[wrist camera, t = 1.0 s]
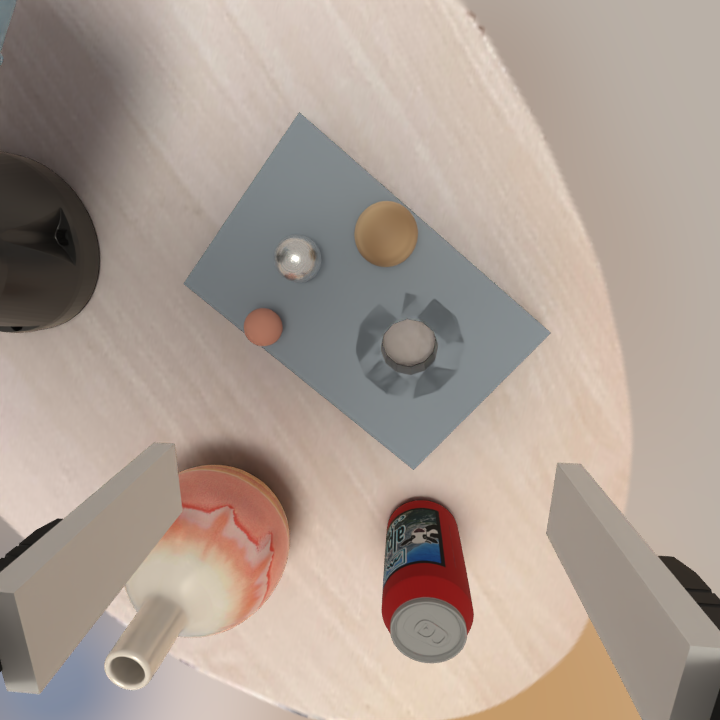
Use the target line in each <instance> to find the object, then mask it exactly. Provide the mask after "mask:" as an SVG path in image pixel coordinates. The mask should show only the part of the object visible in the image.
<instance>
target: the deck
mask: <svg viewBox="0 0 720 720" xmlns="http://www.w3.org/2000/svg"><path fill="white" fill-rule="evenodd" d="M381 201H392V202H396V203H399V204H401V205H403V206H404V207H405V208H407V209H408V210H409V211H410V212H411V214H412V215H413V217H414V219H415V221H416V224H417V228H418V239H417V243H416V246H415V249H414V250H413V252H412V254H411V255H410V256H409V257H408V258H407V259H406V260H405V261H403V262H402V263H400V264H398V265H395V266H391V267H380V266H376V265H373V264H371V263H370V262H368V261H367V260H366V259H365V258H363V256H362V255H361V254H360V252H359V251H358V249H357V246H356V243H355V237H354V232H355V226H356V223H357V220H358V218H359V217H360V215H361V214H362V212H363V211H364V210H365V209H366V208H368V207H369V206H371V205H372V204H375V203H377V202H381ZM290 235H303V236H306V237H308V238H310V239H311V240H313V241H314V242H315V244H316V245H317V246H318V248H319V250H320V253H321V266H320V269H319V271H318V272H317V274H316V275H315V276H314V277H313V278H312V279H310V280H308V281H306V282H302V283H295V282H291V281H288V280H287V279H285V278H284V277H282V276H281V275H280V274H279V272H278V271H277V269H276V266H275V263H274V253H275V249H276V247H277V245H278V244H279V243H280V242H281V241H282V240H283V239H284V238H286V237H288V236H290ZM184 285H186V286H187V287H188V288H189V289H191V290H192V291H193V292H194V293H196V294H197V295H198V296H199V297H201V298H202V299H203V300H204V301H205V302H207V303H208V304H209V305H210V306H212V307H213V308H214V309H215V310H217V311H218V312H219V313H220V314H222V315H223V316H224V317H225V318H226V319H228V320H229V321H230V322H231V323H233V324H234V325H235V326H236V327H238V328H239V329H240V330H241V331H243V332H244V322H245V319H246V317H247V316H248V314H249V313H251V312H252V311H254V310H256V309H259V308H267V309H270V310H272V311H274V312H275V313H276V314H277V315H278V316H279V317H280V319H281V321H282V326H283V330H282V334H281V336H280V338H279V339H278V340H277V341H276V342H275V343H273V344H271V345H268V346H261V347H262V348H264V349H265V350H266V351H267V352H268V353H270V354H271V355H272V356H273V357H275V358H276V359H277V360H278V361H280V362H281V363H282V364H283V365H285V366H286V367H287V368H288V369H289V370H291V371H292V372H293V373H294V374H296V375H297V376H298V377H299V378H301V379H302V380H303V381H304V382H306V383H307V384H308V385H309V386H311V387H312V388H313V389H314V390H315V391H317V392H318V393H319V394H320V395H322V396H323V397H324V398H325V399H327V400H328V401H329V402H330V403H332V404H333V405H334V406H335V407H336V408H338V409H339V410H340V411H341V412H343V413H344V414H345V415H346V416H348V417H349V418H350V419H351V420H353V421H354V422H355V423H356V424H357V425H359V426H360V427H361V428H362V429H364V430H365V431H366V432H367V433H369V434H370V435H371V436H372V437H374V438H375V439H376V440H377V441H378V442H380V443H381V444H382V445H383V446H385V447H386V448H387V449H388V450H390V451H391V452H392V453H393V454H395V455H396V456H397V457H398V458H399V459H401V460H402V461H403V462H404V463H406V464H407V465H408V466H409V467H411V468H412V469H413V470H414V469H415V468H416V467H417V466H418V465H419V464H420V463H421V462H422V461H423V460H424V459H425V458H426V457H427V456H428V455H429V454H430V453H431V452H432V451H433V450H434V449H435V448H436V447H437V446H438V445H439V444H440V443H441V442H442V441H443V440H444V439H445V438H446V437H447V436H448V435H449V434H450V433H451V432H452V431H453V430H454V429H455V428H456V427H457V426H458V425H459V424H460V423H461V422H462V421H463V420H464V419H465V418H466V417H467V416H468V415H469V414H470V413H471V412H472V411H473V410H474V409H475V408H476V407H477V406H478V405H479V404H480V403H481V402H482V401H483V400H484V399H485V398H486V397H487V396H488V395H489V394H490V393H491V392H492V391H493V390H494V389H495V388H496V387H497V386H498V385H499V384H500V383H501V382H502V381H503V380H504V379H505V378H506V377H507V376H508V375H509V374H510V373H511V372H512V371H513V370H514V369H515V368H516V367H517V366H518V365H519V364H520V363H521V362H522V361H523V360H524V359H525V358H526V357H527V356H528V355H529V354H530V353H531V352H532V351H533V350H534V349H535V348H536V347H537V346H538V345H539V344H540V343H541V342H542V341H543V340H544V339H545V338H546V337H547V336H548V335H549V334H550V332H549V331H548V330H547V329H546V328H545V327H544V326H542V325H541V324H540V323H539V322H538V321H537V320H536V319H534V318H533V317H532V316H531V315H530V314H529V313H528V312H526V311H525V310H524V309H523V308H522V307H521V306H520V305H518V304H517V303H516V302H515V301H514V300H513V299H512V298H510V297H509V296H508V295H507V294H506V293H505V292H504V291H502V290H501V289H500V288H499V287H498V286H497V285H496V284H494V283H493V282H492V281H491V280H490V279H489V278H488V277H487V276H485V275H484V274H483V273H482V272H481V271H480V270H479V269H477V268H476V267H475V266H474V265H473V264H472V263H471V262H469V261H468V260H467V259H466V258H465V257H464V256H463V255H461V254H460V253H459V252H458V251H457V250H456V249H455V248H453V247H452V246H451V245H450V244H449V243H448V242H447V241H445V240H444V239H443V238H442V237H441V236H440V235H439V234H437V233H436V232H435V231H434V230H433V229H432V228H431V227H429V226H428V225H427V224H426V223H425V222H424V221H423V220H421V219H420V218H419V217H418V216H417V215H416V214H415V213H414V212H412V211H411V210H410V209H409V208H408V207H407V206H406V205H404V204H403V203H402V202H401V201H400V200H399V199H398V198H396V197H395V196H394V195H393V194H392V193H391V192H390V191H388V190H387V189H386V188H385V187H384V186H383V185H382V184H380V183H379V182H378V181H377V180H376V179H375V178H374V177H372V176H371V175H370V174H369V173H368V172H367V171H366V170H364V169H363V168H362V167H361V166H360V165H359V164H358V163H356V162H355V161H354V160H353V159H352V158H351V157H350V156H348V155H347V154H346V153H345V152H344V151H343V150H342V149H341V148H339V147H338V146H337V145H336V144H335V143H334V142H333V141H331V140H330V139H329V138H328V137H327V136H326V135H325V134H323V133H322V132H321V131H320V130H319V129H318V128H317V127H315V126H314V125H313V124H312V123H311V122H310V121H309V120H307V119H306V118H305V117H304V116H303V115H302V114H301V113H299V114H298V115H297V116H296V118H295V119H294V121H293V122H292V124H291V125H290V127H289V128H288V130H287V131H286V133H285V134H284V136H283V137H282V139H281V140H280V142H279V143H278V145H277V146H276V148H275V149H274V150H273V152H272V153H271V155H270V156H269V158H268V159H267V161H266V162H265V164H264V165H263V167H262V168H261V170H260V171H259V173H258V174H257V176H256V177H255V179H254V180H253V182H252V183H251V185H250V186H249V187H248V189H247V190H246V192H245V193H244V195H243V196H242V198H241V199H240V201H239V202H238V204H237V205H236V207H235V208H234V210H233V211H232V213H231V214H230V216H229V217H228V219H227V220H226V222H225V223H224V224H223V226H222V227H221V229H220V230H219V232H218V233H217V235H216V236H215V238H214V239H213V241H212V242H211V244H210V245H209V247H208V248H207V250H206V251H205V253H204V254H203V256H202V257H201V259H200V260H199V261H198V263H197V264H196V266H195V267H194V269H193V270H192V272H191V273H190V275H189V276H188V278H187V279H186V281H185V282H184ZM406 319H410V320H415V321H421V322H423V323H424V324H425V325H427V326H428V327H429V328H430V329H431V330H433V331H434V334H435V337H436V342H435V347H434V352H433V353H432V354H431V355H430V357H429V358H428V359H427V360H426V361H425V362H424V363H421V364H418V365H415V366H412V367H409V366H403V365H398V364H396V363H395V362H394V361H393V360H391V359H390V358H389V357H388V356H387V355H386V352H385V349H384V347H383V344H382V341H383V336H384V334H385V333H386V331H387V330H388V329H389V328H390V327H391V326H392V325H393V324H394V323H397V322H400V321H403V320H406ZM244 333H245V332H244Z"/></svg>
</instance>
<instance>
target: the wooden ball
mask: <svg viewBox="0 0 720 720" xmlns="http://www.w3.org/2000/svg"><path fill="white" fill-rule="evenodd" d="M354 237H355V243H356V246H357V249H358V251H359V252H360V254H361V255H362V256H363V258H365V259H366V260H367V261H368V262H370V263H371V264H373V265H376V266H380V267H391V266H395V265H398V264H400V263H402V262H403V261H405V260H406V259H407V258H408V257H409V256H410V255H411V254H412V252H413V250H414V249H415V246H416V243H417V239H418V228H417V224H416V221H415V219H414V217H413V215H412V214H411V212H410V211H409V210H408V209H407V208H405V207H404V206H403V205H401V204H399V203H396V202H392V201H381V202H377V203H375V204H372V205H371V206H369V207H368V208H366V209H365V210H364V211H363V212H362V214H361V215H360V217H359V218H358V220H357V223H356V226H355V232H354Z"/></svg>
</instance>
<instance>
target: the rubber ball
mask: <svg viewBox="0 0 720 720" xmlns="http://www.w3.org/2000/svg"><path fill="white" fill-rule="evenodd" d="M282 330H283V326H282V321H281V319H280V317H279V316H278V315H277V314H276V313H275V312H274V311H272V310H270V309H267V308H259V309H256V310H254V311H252V312H251V313H249V314H248V316H247V317H246V319H245V322H244V332H245V335H246V337H247V338H248V339H249V340H250V341H251V342H252V343H254V344H256V345H259V346H268V345H271V344H273V343H275V342H276V341H277V340H278V339H279V338H280V336H281V334H282Z"/></svg>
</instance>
